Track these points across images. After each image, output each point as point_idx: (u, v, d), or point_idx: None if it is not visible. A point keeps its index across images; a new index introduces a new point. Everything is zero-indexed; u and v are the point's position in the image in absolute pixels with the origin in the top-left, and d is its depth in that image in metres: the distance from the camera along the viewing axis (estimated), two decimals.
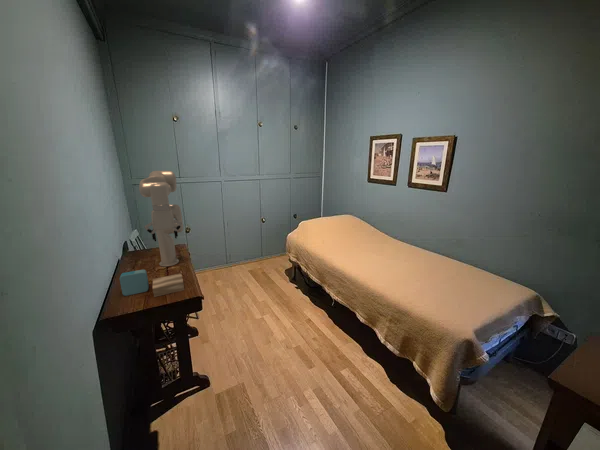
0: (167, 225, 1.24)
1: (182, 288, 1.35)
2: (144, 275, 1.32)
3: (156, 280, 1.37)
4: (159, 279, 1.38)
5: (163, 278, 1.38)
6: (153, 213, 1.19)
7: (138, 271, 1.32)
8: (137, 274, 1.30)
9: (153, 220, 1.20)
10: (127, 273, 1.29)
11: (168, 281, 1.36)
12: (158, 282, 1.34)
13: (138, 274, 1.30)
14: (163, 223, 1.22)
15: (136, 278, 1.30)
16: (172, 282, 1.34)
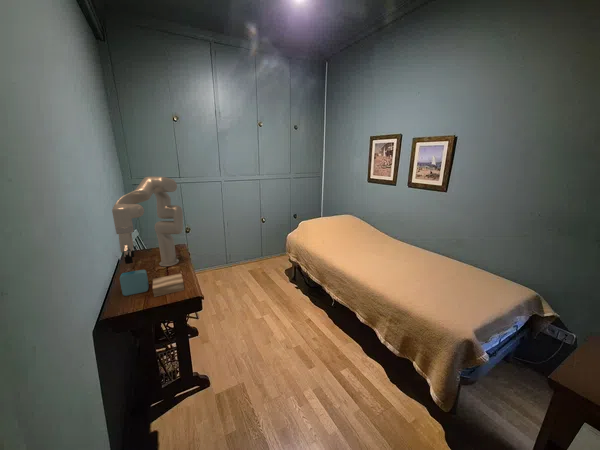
0: None
1: (182, 288, 1.35)
2: (144, 275, 1.32)
3: (156, 280, 1.37)
4: (159, 279, 1.38)
5: (163, 278, 1.38)
6: (129, 235, 1.23)
7: (138, 271, 1.32)
8: (137, 274, 1.30)
9: (130, 241, 1.23)
10: (127, 273, 1.29)
11: (168, 281, 1.36)
12: (158, 282, 1.34)
13: (138, 274, 1.30)
14: (132, 243, 1.28)
15: (136, 278, 1.30)
16: (172, 282, 1.34)
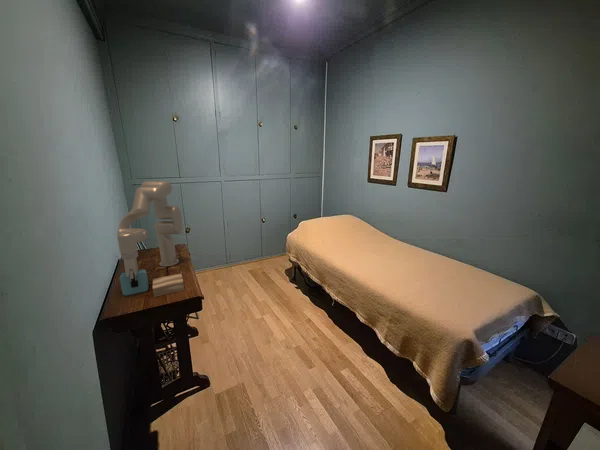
0: (137, 268, 1.33)
1: (182, 288, 1.35)
2: (144, 275, 1.32)
3: (156, 280, 1.37)
4: (159, 279, 1.38)
5: (163, 278, 1.38)
6: (134, 260, 1.27)
7: (138, 271, 1.32)
8: (137, 274, 1.30)
9: (135, 266, 1.27)
10: None
11: (168, 281, 1.36)
12: (158, 282, 1.34)
13: (138, 274, 1.30)
14: (137, 266, 1.31)
15: (136, 278, 1.30)
16: (172, 282, 1.34)
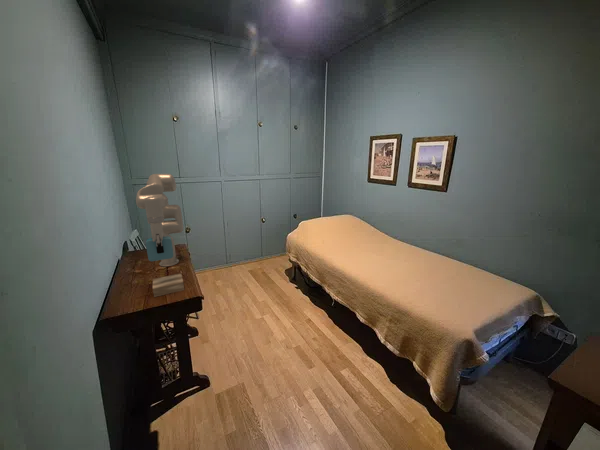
0: None
1: (182, 288, 1.35)
2: (169, 241, 1.31)
3: (156, 280, 1.37)
4: (159, 279, 1.38)
5: (163, 278, 1.38)
6: (160, 224, 1.25)
7: (163, 237, 1.31)
8: (163, 240, 1.29)
9: (161, 231, 1.26)
10: None
11: (168, 281, 1.36)
12: (158, 282, 1.34)
13: (164, 240, 1.29)
14: None
15: None
16: (172, 282, 1.34)
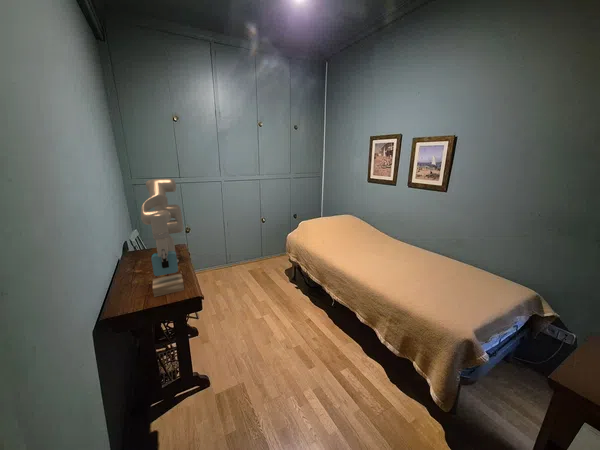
0: None
1: (182, 288, 1.35)
2: (174, 256, 1.33)
3: (156, 280, 1.37)
4: (159, 279, 1.38)
5: (163, 278, 1.38)
6: (165, 240, 1.28)
7: (168, 252, 1.33)
8: (168, 254, 1.31)
9: (167, 246, 1.28)
10: None
11: (168, 281, 1.36)
12: (158, 282, 1.34)
13: (169, 255, 1.32)
14: None
15: (167, 259, 1.32)
16: (172, 282, 1.34)
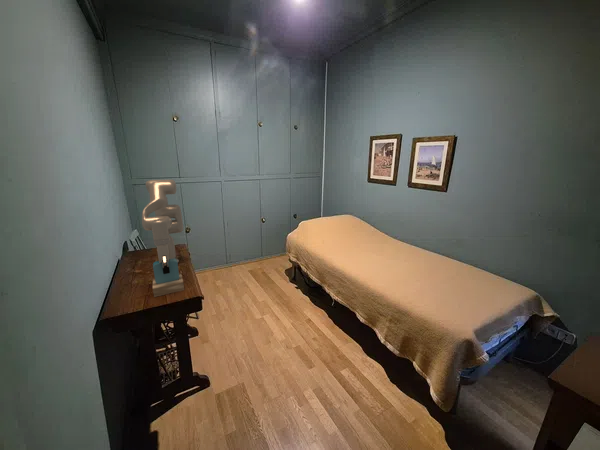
0: None
1: (182, 288, 1.35)
2: (176, 263, 1.35)
3: None
4: None
5: None
6: (166, 246, 1.29)
7: (170, 260, 1.35)
8: (169, 262, 1.33)
9: (167, 252, 1.29)
10: None
11: None
12: None
13: (170, 262, 1.33)
14: None
15: None
16: (172, 282, 1.34)
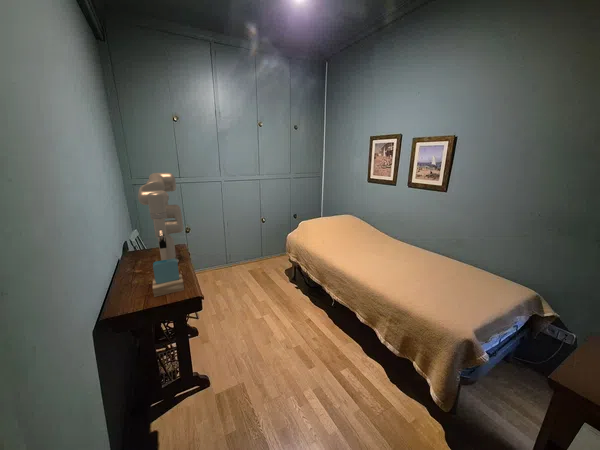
0: None
1: (182, 288, 1.35)
2: (176, 263, 1.35)
3: None
4: None
5: None
6: (163, 220, 1.26)
7: (170, 260, 1.35)
8: (169, 262, 1.33)
9: (164, 227, 1.26)
10: (159, 262, 1.32)
11: None
12: None
13: (170, 262, 1.33)
14: None
15: (168, 267, 1.33)
16: (172, 282, 1.34)
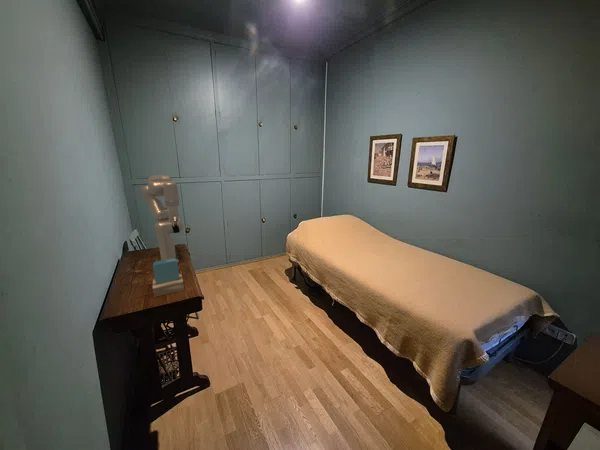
0: None
1: (182, 288, 1.35)
2: (176, 263, 1.35)
3: None
4: None
5: None
6: (176, 207, 1.40)
7: (170, 260, 1.35)
8: (169, 262, 1.33)
9: (177, 213, 1.40)
10: (159, 262, 1.32)
11: None
12: None
13: (170, 262, 1.33)
14: None
15: (168, 267, 1.33)
16: (172, 282, 1.34)
